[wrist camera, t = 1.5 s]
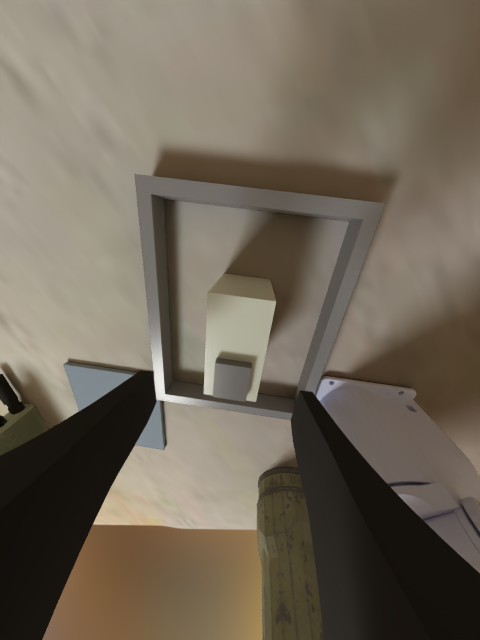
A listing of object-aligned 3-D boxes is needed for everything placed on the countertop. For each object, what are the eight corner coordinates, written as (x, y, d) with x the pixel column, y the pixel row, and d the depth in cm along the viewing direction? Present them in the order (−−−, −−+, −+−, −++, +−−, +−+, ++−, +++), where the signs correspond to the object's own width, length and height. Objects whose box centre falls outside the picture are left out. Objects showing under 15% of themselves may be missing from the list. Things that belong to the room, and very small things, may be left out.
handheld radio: (71, 480, 34) (-6, 369, 24) (89, 481, 34) (18, 369, 24) (33, 533, 28) (-93, 415, 18) (54, 535, 28) (-61, 415, 18)
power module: (270, 279, 16) (277, 305, 10) (256, 355, 20) (255, 408, 14) (224, 273, 17) (205, 295, 11) (218, 350, 20) (201, 400, 14)
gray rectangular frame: (368, 207, 14) (385, 203, 12) (300, 406, 22) (304, 422, 20) (150, 181, 14) (134, 174, 12) (164, 386, 22) (156, 399, 21)
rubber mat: (159, 375, 22) (157, 378, 21) (165, 446, 27) (163, 450, 27) (67, 361, 22) (63, 364, 22) (91, 434, 28) (88, 437, 27)
